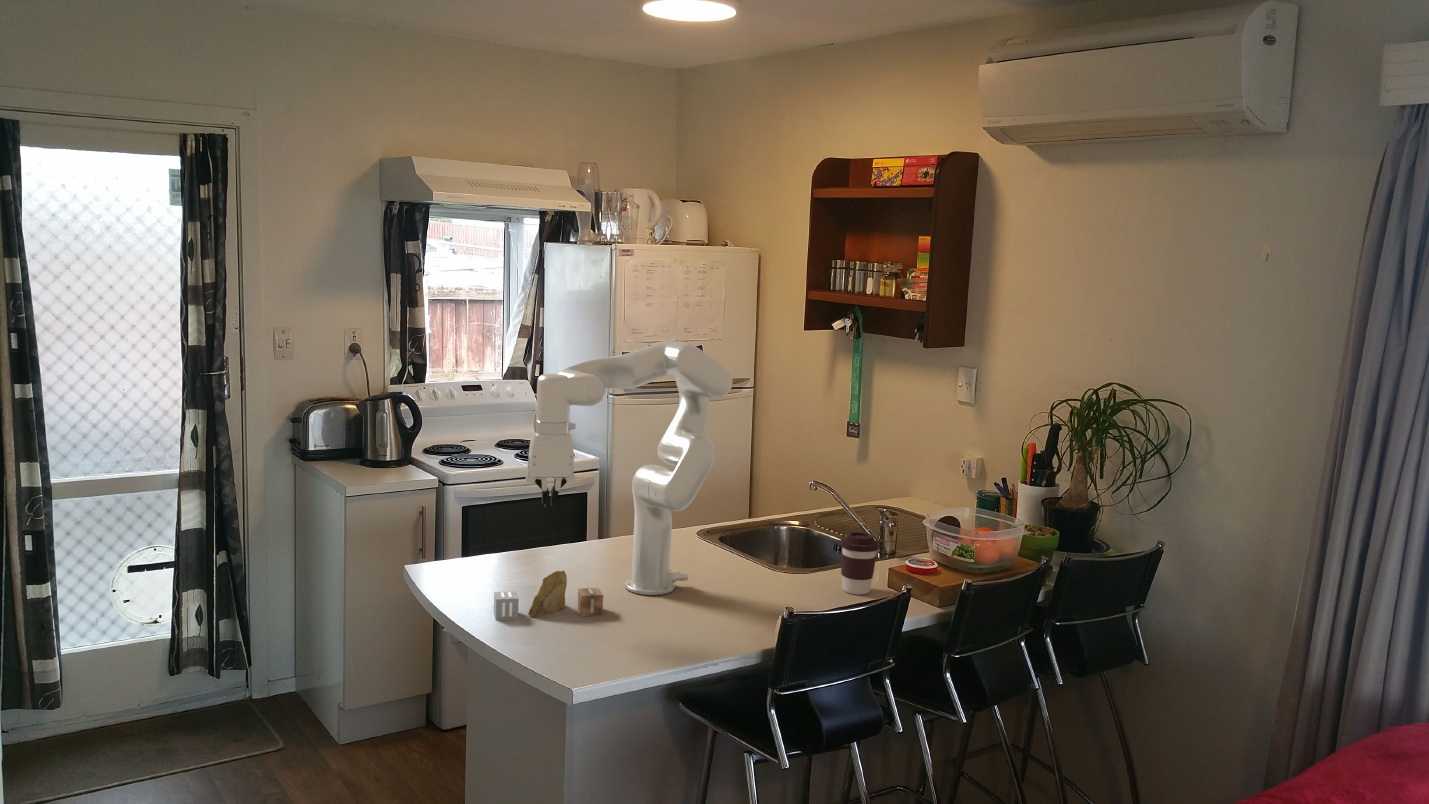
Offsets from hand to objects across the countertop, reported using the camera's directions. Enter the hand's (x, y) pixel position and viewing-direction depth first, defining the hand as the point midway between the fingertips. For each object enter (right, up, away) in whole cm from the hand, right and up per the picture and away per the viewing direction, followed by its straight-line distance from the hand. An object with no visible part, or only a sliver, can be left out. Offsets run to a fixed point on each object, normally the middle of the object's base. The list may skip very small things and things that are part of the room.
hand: (549, 506), depth 239 cm
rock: (-1, -25, +4) cm, 25 cm away
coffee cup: (+75, -25, +31) cm, 85 cm away
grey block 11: (-10, -25, -1) cm, 27 cm away
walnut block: (+9, -25, +5) cm, 27 cm away
